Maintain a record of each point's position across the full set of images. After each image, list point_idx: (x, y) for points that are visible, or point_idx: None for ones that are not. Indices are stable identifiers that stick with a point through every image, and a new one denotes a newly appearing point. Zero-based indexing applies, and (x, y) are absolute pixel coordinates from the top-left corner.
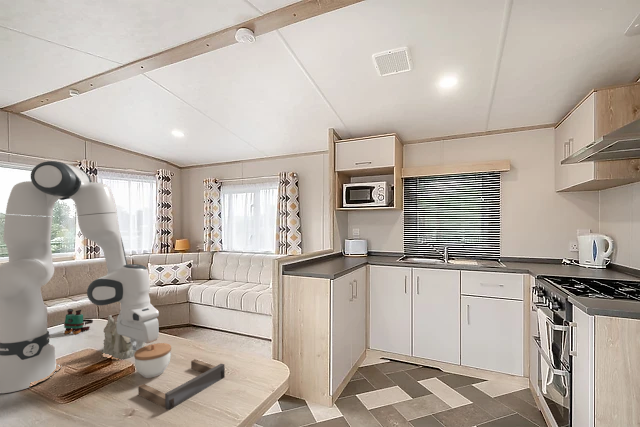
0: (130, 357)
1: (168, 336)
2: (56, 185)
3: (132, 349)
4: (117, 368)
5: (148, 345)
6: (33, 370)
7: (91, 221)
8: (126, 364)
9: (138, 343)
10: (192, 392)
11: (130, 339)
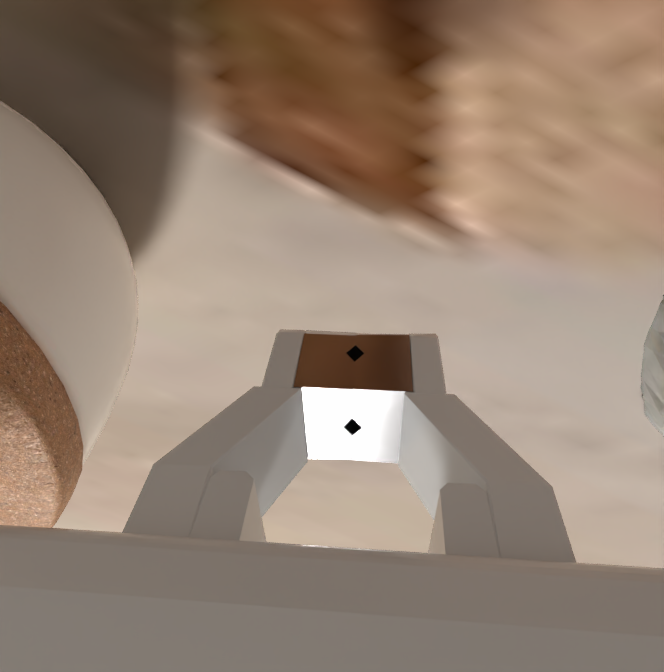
0: (659, 310)
1: None
2: None
3: (427, 339)
4: (554, 49)
5: (12, 473)
6: None
7: None
8: (534, 187)
9: (185, 459)
10: None
11: (518, 510)
